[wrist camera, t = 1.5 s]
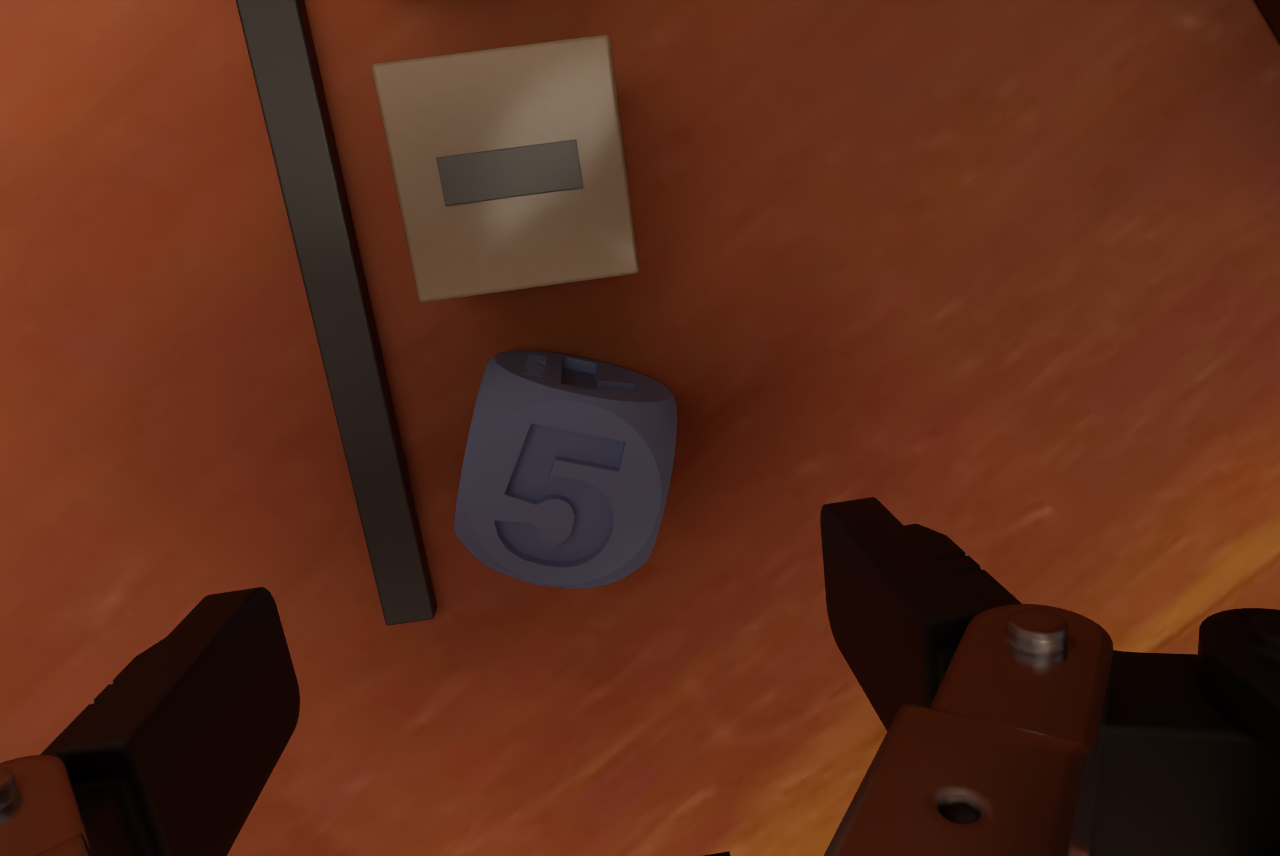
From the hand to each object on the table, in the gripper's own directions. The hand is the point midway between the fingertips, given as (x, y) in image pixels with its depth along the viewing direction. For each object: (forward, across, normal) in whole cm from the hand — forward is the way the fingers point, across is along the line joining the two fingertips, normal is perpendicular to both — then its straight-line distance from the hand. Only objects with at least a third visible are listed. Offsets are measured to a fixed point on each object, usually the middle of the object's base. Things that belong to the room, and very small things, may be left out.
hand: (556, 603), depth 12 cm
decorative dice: (+8, 0, 0) cm, 8 cm away
